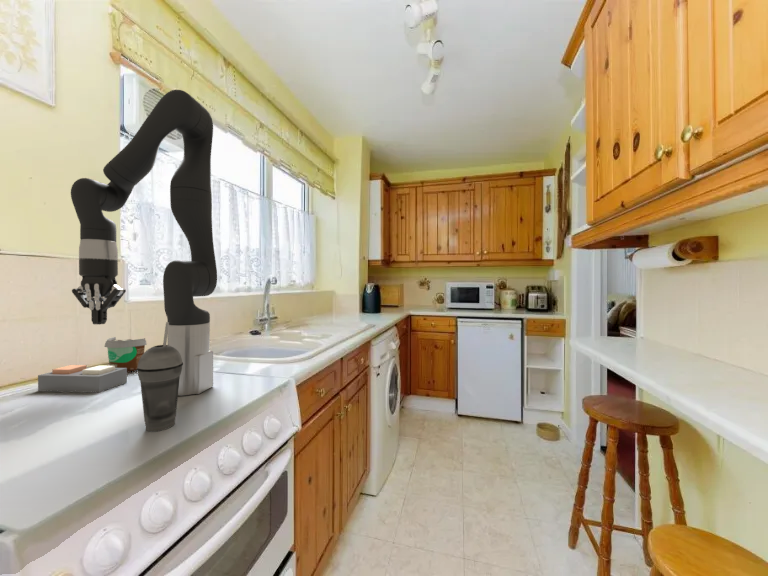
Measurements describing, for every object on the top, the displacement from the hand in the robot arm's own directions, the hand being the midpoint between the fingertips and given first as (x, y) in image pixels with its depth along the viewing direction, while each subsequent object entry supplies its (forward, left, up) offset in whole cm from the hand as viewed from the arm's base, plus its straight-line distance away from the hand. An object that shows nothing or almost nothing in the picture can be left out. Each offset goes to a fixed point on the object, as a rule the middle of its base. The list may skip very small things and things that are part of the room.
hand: (99, 324), depth 82 cm
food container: (+8, -15, -17) cm, 24 cm away
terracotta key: (+8, 0, -15) cm, 17 cm away
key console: (+4, 0, -17) cm, 17 cm away
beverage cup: (-33, +21, -17) cm, 42 cm away
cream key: (0, 0, -15) cm, 15 cm away
